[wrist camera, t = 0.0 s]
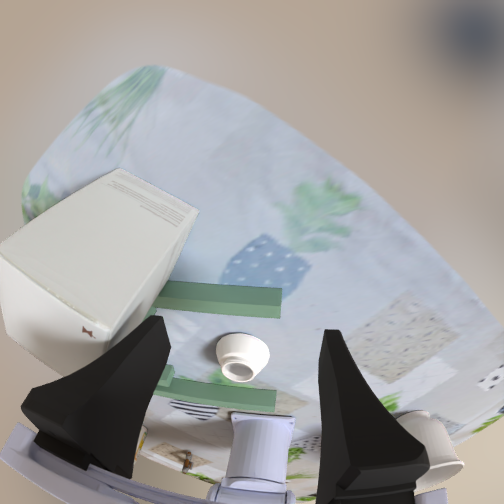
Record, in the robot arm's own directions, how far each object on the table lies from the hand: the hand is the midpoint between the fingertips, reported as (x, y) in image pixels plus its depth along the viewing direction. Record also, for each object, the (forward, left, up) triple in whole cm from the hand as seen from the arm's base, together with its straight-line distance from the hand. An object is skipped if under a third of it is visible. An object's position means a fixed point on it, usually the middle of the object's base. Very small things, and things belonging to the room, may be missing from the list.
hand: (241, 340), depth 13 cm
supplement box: (+1, +9, -10) cm, 14 cm away
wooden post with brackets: (-46, +14, -10) cm, 49 cm away
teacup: (-28, -20, -10) cm, 36 cm away
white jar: (-12, +2, -10) cm, 16 cm away
